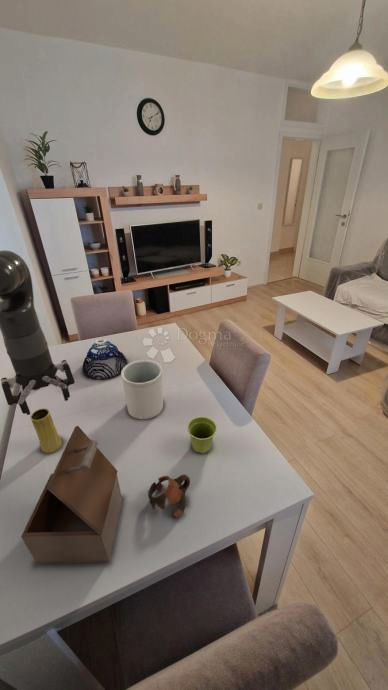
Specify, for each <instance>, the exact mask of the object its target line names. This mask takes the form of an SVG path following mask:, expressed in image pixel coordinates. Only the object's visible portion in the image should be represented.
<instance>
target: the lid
mask: <svg viewBox="0 0 388 690" xmlns="http://www.w3.org/2000/svg"><path fill="white" fill-rule="evenodd" d="M98 444H99V443H98V441H96V440H91V439H90V437H89V436H88V435H87V434H86V433H85V431H83V429H82V428H81V427H80V426H79V425H76V426H74V428H73V431H72V433H71V435H70V436H69V439H68V441H67V443H66V445H65V448H64V449H63V452H62V454H61V456H60V458H59V461H58V462H57V465H56V467H55V469H54V471H53V473H52V474H53V475H52V477H51V479H50V482H49V484H48V486H47V489H48V490H49V491H50V492H51V493H53V494H54V495H55V496H56V497H57V498H58V499H59V500H60V501H62V502H63V503H64V504H65V505H66V506H67V507H68V508H70V509H71V510H72V511H73V512H74V513H75V514H76V515H78V516H79V517H80V518H81V519H82V520H83V521H84V522H85V523H87V524H88V525H89V526H90V527H91V528H92V529H93V530H95V531H96V532H97V533H98V534H102V532H103V528H104V524H105V520H106V516H107V512H108V508H109V504H110V500H111V496H112V492H113V488H114V484H115V479H116V475H117V476H118V470H117V468H116V467H115V466H114V465H113V464H112V463H111V462H110V460H109V459H108V458H107V457H106V456H105V455H104V453H103V452H102V451H101V450H100V449H99V448H98Z"/></svg>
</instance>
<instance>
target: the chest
mask: <svg viewBox="0 0 388 690" xmlns="http://www.w3.org/2000/svg"><path fill="white" fill-rule="evenodd" d="M52 475H53V473H50V475H49V478H48V479H47V481H46V484H45V486H44V488H43V490H42V492H41V494H40V496H39V498H38V500H37V502H36V505H35V507H34V508H33V510H32V513H31V515H30V517H29V519H28V521H27V523H26V525H25V528H24V529H23V532H22V534H21V537H20V538H21V539H22V540H23V543H24V544H25V546H26V548H27V549H28V551H29V552H30V554H31V556H32V558H33V559H34V561H35V562H36V564H60V563H61V564H63V563H67V564H68V563H108V562H110V561H111V557H112V552H113V547H114V542H115V538H116V532H117V527H118V523H119V518H120V513H121V508H122V505H123V504H122V503H123V496H122V492H121V487H120V483H119V477H118V474H117V475H116V479H115V484H114V488H113V492H112V496H111V500H110V504H109V508H108V512H107V516H106V520H105V524H104V528H103V532H102V534H98V533H97V532H96V531H95V530H93V529H92V528H91V527H90V526H89V525H88V524H87V523H85V522H84V521H83V520H82V519H81V518H80V517H79V516H78V515H76V514H75V513H74V512H73V511H72V510H71V509H70V508H68V507H67V506H66V505H65V504H64V503H63V502H62V501H60V500H59V499H58V498H57V497H56V496H55V495H54V494H53V493H51V492H50V491H49V490H48V489H47V486H48V484H49V482H50V479H51V477H52Z"/></svg>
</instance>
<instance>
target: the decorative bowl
mask: <svg viewBox="0 0 388 690" xmlns="http://www.w3.org/2000/svg"><path fill="white" fill-rule="evenodd" d="M92 350H95V351H96V352H93V351H92ZM112 358H115V366H114V367H115V368H114V369H115V370H114V369H113V368H112V367H111V366H109V365H108V364H107V363H106V362H105V363H104V362H101V361H107V360H110V359H112ZM94 361H100V362H94ZM127 364H128V360H127V358H126V356H125V354H124V353H123V352H122V351H120V350H119V348H118V347H117V345H115V344H114V343H112V342H111V341H109V340H107V339H106V338H97V339H95V341H94V342H93V344H91V346H90V347H89V348H88V351H87V352H86V356H85V357H84V359H83V362H82V372H83V375H84V376H85V377H86V378H88V379H90V380H94V381H96V380H97V381H104V380H110V379H113V378H116V377H118V376H121V371H122V369H123V368H124V367H125V366H126V365H127Z"/></svg>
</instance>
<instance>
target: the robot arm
mask: <svg viewBox="0 0 388 690" xmlns="http://www.w3.org/2000/svg"><path fill="white" fill-rule="evenodd" d="M34 298H35V297H34V287H33V280H32V275H31V271H30V268H29V265H28V264H27V263H26V261H25V260H24V259H23V258H22V257H21V256H20V255H19V254H17V253H16V252H14V251H12V250H5V249H4V250H0V333H1V336H2V339H3V344H4V348H5V350H6V354H7V356H8V358H9V360H10V362H11V365H12V368H13V370H14V372H15V376H14V377H9V378H8V377H2V378H1V379H0V383H1V388H2V391H3V394H4V397H5V400H6V403H7V405H8V406H13V405H14V404H15V405H18V406H19V408H20V410H21V413H22V414H23V415H26V416H29V415H31V411H30V408H29V405H28V402H27V398H28V397H29V396H30V393H31V392H32V391H34V392H35V391H37V390H38V391H39V390H40V389H41V388H42V389H43V388H47V387H49V386H50V385H52V386H54V387H58V388H60V389H61V394H62V396H63V399H64V402H67V401H69V398H70V397H71V394H70V390H69V387H70V385H71V386H72V385H74V384H75V382H76V381H75V377H74V376H73V373H72V369H71V366H70V365H69V362H68V360H66V359H63V360H61V362H60V363H58V364H55V363H53V359H52V356H51V352H50V349H49V345H48V342H47V339H46V336H45V333H44V331H43V329H42V327H41V323H40V321H39V317H38V314H37V311H36V309H35V299H34ZM58 371H60V372H61V373H65V376H66V378H65V379H63V378H61V377H59V375H57V372H58ZM15 384H17V385H20V387H19V390H18V393H17V394H16V395H13V391H12V389H14V387H15V386H14V385H15Z"/></svg>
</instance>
